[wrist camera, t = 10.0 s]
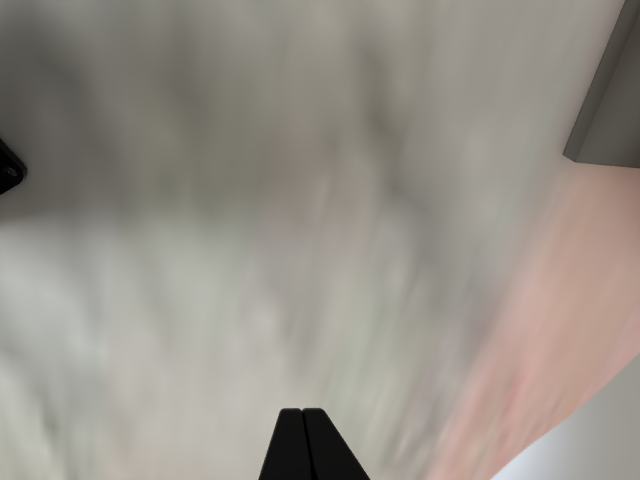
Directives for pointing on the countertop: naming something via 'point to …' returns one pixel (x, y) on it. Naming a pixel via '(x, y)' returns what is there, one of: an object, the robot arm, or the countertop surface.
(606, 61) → the base plate
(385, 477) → the countertop surface
